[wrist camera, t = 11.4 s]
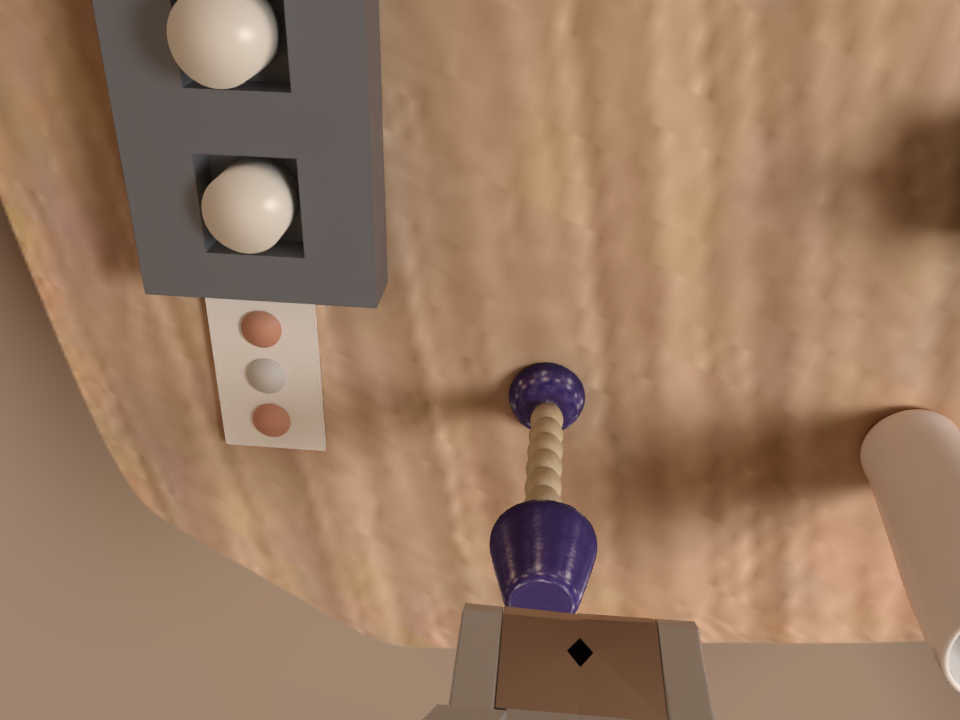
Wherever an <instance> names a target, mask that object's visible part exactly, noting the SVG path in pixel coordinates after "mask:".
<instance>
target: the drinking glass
mask: <svg viewBox="0 0 960 720" xmlns="http://www.w3.org/2000/svg"><path fill="white" fill-rule="evenodd" d="M860 461H861V465H862V468H863V471H864V473H865V475H866V477H867V479H868V481H869V484H870V486H871V489H872V491H873V494H874V497H875V500H876V503H877V506H878V509H879V512H880V515H881V518H882V521H883V524H884V527H885V530H886V533H887V536H888V539H889V542H890V545H891V549H892V552H893V555H894V558H895V561H896V564H897V567H898V570H899V573H900V577H901V580H902V583H903V586H904V589H905V592H906V595H907V597H908V600H909V603H910V606H911V608H912V611H913V613H914V616H915V618H916V620H917V623H918V625H919V627H920V629H921V631H922V634H923V636H924V638H925V640H926V642H927V644H928V646H929V648H930V650H931V652H932V654H933V656H934V658H935V659H936V661H937V663H938V665H939V667H940V669H941V671H942V673H943V674H944V677H945V678H946V680H947V681H948V683H949V684H950V685H951V686H952V687H953V688H954V689H955V690H956V691H957V692H959V693H960V430H959V428H958V427H957V426H956V425H955V424H954V423H953V422H952V421H951V420H950V419H949V418H947V417H945V416H944V415H942V414H940V413H937V412H934V411H930V410H923V409H911V410H905V411H900V412H897V413H894V414H892V415H890V416H887V417H886V418H884V419H882V420H881V421H879V422H878V423H877V424H876V425H874V426H873V427H872V428H871V430H870V431H869V432H868V433H867V435H866V437H865V438H864V440H863V443H862V446H861V450H860Z"/></svg>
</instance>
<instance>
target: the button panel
mask: <svg viewBox="0 0 960 720" xmlns="http://www.w3.org/2000/svg"><path fill="white" fill-rule="evenodd" d="M177 1H178V0H92V4H93V9H94V15H95V20H96V26H97V31H98V37H99V43H100V48H101V54H102V59H103V65H104V70H105V76H106V81H107V87H108V92H109V98H110V103H111V109H112V114H113V120H114V125H115V131H116V136H117V142H118V147H119V153H120V158H121V164H122V169H123V175H124V180H125V186H126V191H127V197H128V202H129V208H130V213H131V219H132V224H133V230H134V235H135V241H136V246H137V252H138V257H139V263H140V268H141V274H142V279H143V285H144V290H145V294H151V295H168V296H184V297H201V298H217V299H233V300H250V301H266V302H283V303H299V304H315V305H332V306H348V307H365V308H377V306H378V304H379V302H380V299H381V297H382V295H383V292H384V290H385V288H386V285H387V254H386V222H385V191H384V159H383V127H382V95H381V64H380V32H379V0H268V1H269V2H270V3H271V5H272V6H273V8H274V10H275V12H276V15H277V17H278V21H279V24H280V35H281V37H280V45H279V49H278V51H277V54H276V56H275V57H274V59H273V60H272V62H271V63H270V64H269V65H268V66H267V67H266V68H264V69H263V70H261V71H260V72H258V73H257V74H256V75H254V76H253V77H251V78H250V79H248V80H247V81H245V82H244V83H243V84H241V85H239V86H237V87H233V88H229V89H214V88H210V87H207V86H204V85H201V84H200V83H198V82H196V81H194V80H193V79H191V78H190V77H189V76H188V75H187V74H186V73H185V72H184V71H183V70H182V69H181V68H180V67H179V65H178V64H177V62H176V61H175V59H174V57H173V55H172V53H171V51H170V48H169V45H168V40H167V21H168V17H169V14H170V11H171V9H172V7H173V6H174V4H175V3H176V2H177ZM245 156H253V157H269V158H272V159H274V160H276V161H278V162H280V163H281V164H282V165H284V166H285V167H286V168H287V169H288V170H289V171H290V172H291V174H292V175H293V176H294V178H295V180H296V181H297V184H298V186H299V195H300V209H299V212H298V214H297V216H296V218H295V219H294V221H293V222H292V223H291V225H290V226H289V227H288V229H287V230H286V231H285V232H284V234H283V235H282V236H281V238H280V239H279V240H278V241H277V243H276V244H275V245H273V246H272V247H271V248H269V249H268V250H265V251H263V252H259V253H253V254H248V253H241V252H237V251H234V250H232V249H230V248H227V247H226V246H224V245H223V244H221V243H220V242H219V241H218V240H217V239H216V238H215V237H214V236H213V235H212V234H211V233H210V231H209V230H208V228H207V226H206V224H205V222H204V219H203V215H202V208H201V206H202V198H203V195H204V192H205V190H206V188H207V187H208V186H209V184H210V183H211V182H212V181H213V180H214V179H216V178H217V177H218V176H219V175H220V174H221V173H222V172H223V171H224V170H225V169H227V168H228V167H229V166H230V165H231V164H232V163H233V162H234V161H236V160H237V159H239V158H242V157H245Z"/></svg>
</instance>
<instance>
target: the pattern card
mask: <svg viewBox="0 0 960 720" xmlns="http://www.w3.org/2000/svg"><path fill="white" fill-rule="evenodd" d="M205 302H206V309H207V316H208V323H209V330H210V337H211V344H212V350H213V357H214V364H215V371H216V378H217V385H218V392H219V399H220V406H221V412H222V419H223V426H224V433H225V440H226V444H234V445H248V446H261V447H275V448H289V449H303V450H317V451H325V450H326V434H325V421H324V408H323V395H322V382H321V369H320V356H319V343H318V330H317V317H316V305H315V304H299V303H283V302H266V301H250V300H233V299H217V298H205Z"/></svg>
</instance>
